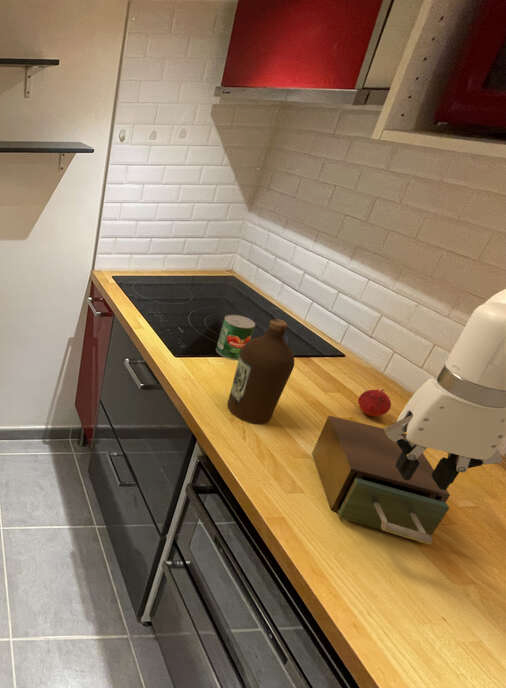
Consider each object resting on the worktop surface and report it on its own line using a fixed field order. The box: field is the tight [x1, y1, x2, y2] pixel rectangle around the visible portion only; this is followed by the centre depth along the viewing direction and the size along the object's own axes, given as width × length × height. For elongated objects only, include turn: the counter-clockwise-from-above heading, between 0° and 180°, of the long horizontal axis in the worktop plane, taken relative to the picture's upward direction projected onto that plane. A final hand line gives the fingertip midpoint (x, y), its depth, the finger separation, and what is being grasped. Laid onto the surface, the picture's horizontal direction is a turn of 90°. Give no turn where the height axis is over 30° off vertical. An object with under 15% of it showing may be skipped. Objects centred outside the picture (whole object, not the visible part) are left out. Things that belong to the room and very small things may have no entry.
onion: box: [357, 387, 392, 417], centre depth 107 cm, size 6×6×8 cm
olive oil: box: [227, 318, 295, 425], centre depth 104 cm, size 11×11×25 cm
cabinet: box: [311, 415, 451, 513], centre depth 86 cm, size 16×14×11 cm
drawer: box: [337, 473, 450, 546], centre depth 81 cm, size 20×12×9 cm, turn 156°
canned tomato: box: [215, 314, 256, 361], centre depth 131 cm, size 8×8×11 cm
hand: (420, 477), depth 72 cm, fingers open, 3 cm apart
